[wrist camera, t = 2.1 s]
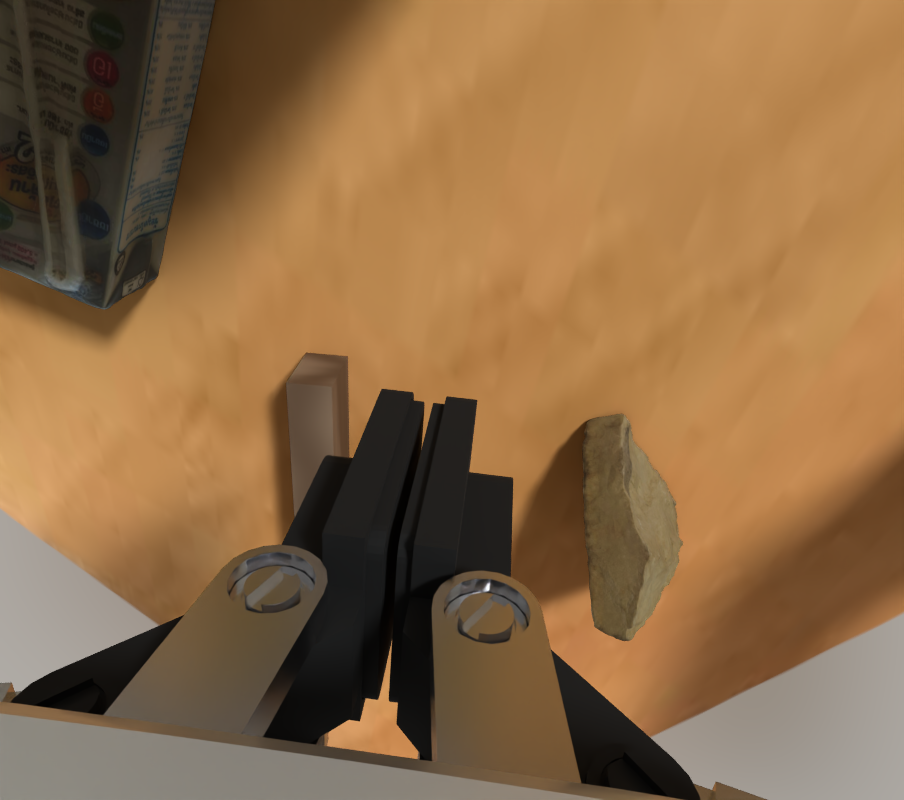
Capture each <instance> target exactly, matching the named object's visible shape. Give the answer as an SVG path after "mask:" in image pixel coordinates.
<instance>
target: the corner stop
mask: <svg viewBox="0 0 904 800" xmlns="http://www.w3.org/2000/svg"><path fill="white" fill-rule="evenodd" d="M286 389H287V405H288V421H289V437H290V453H291V469H292V486H293V502H294V518H295V516H296V514H297V512H298V510H299V508H300V506H301V504H302V502H303V500H304V498H305V496H306V493H307V491H308V489H309V487H310V485H311V483H312V481H313V479H314V477H315V475H316V473H317V471H318V469H319V467H320V464H321V462H322V460H323V459H324V457H325V456H327V455H332V456H340V457H348V458H349V408H348V356H337V355H325V354H314V353H306V354H305V355H304V357H303V358H302V360H301V361H300V363H299V364H298V366H297V367H296V369H295V370H294V372H293V373H292V375H291V376H290V378H289V379H288V381H287V382H286Z"/></svg>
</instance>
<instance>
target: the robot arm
mask: <svg viewBox="0 0 904 800" xmlns="http://www.w3.org/2000/svg"><path fill="white" fill-rule="evenodd" d="M476 407H477V400H473V399H465V398H456V397H448V396H447V397H446V401H445V404H438V403H433V407H432V411H431V414H430V418H429V422H428V426H427V430H426V434H425V438H424V442H423V446H422V433H423V419H424V402H421V401H414V394H413V392H405V391H397V390H388V389H382V390H381V392H380V394H379V396H378V399H377V401H376V404H375V406H374V409H373V411H372V413H371V416H370V418H369V421H368V423H367V426H366V428H365V430H364V433H363V435H362V438H361V440H360V443H359V445H358V447H357V450H356V452H355V455H354V457H353V458H348V457H340V456H332V455H327V456H325V457H324V459H323V460H322V462H321V464H320V467H319V469H318V471H317V473H316V475H315V477H314V479H313V481H312V483H311V485H310V487H309V489H308V491H307V493H306V496H305V498H304V500H303V502H302V504H301V506H300V508H299V510H298V512H297V514H296V516H295V518H294V520H293V522H292V524H291V527H290V529H289V531H288V533H287V535H286V537H285V539H284V541H283V543H282V545H271V546H262V547H259V548H255V549H252V550H248V551H246V552H244V553H242V554H241V555H239V556H237V557H235V558H233V559H232V560H231V561H230V562H229V563H228V564H227V565H226V566H224V567H223V568H222V569H221V571H220V572H219V573H218V574H217V576H216V577H215V578H214V579H213V581H212V582H211V583H210V584H209V585H208V587H207V588H206V589H205V590H204V592H203V593H202V594H201V595H200V597H199V598H198V599H197V600H196V601H195V603H194V604H193V605H192V606H191V608H190V609H189V610H188V611H187V613H186V614H185V615H183V616H181V617H179V618H176V619H174V620H172V621H169V622H167V623H165V624H162V625H160V626H158V627H155V628H153V629H151V630H149V631H147V632H144V633H142V634H139V635H137V636H135V637H132V638H130V639H128V640H126V641H124V642H121V643H118V644H116V645H114V646H111V647H109V648H107V649H105V650H102V651H100V652H98V653H95V654H93V655H91V656H89V657H86V658H84V659H81V660H79V661H77V662H75V663H72V664H70V665H68V666H65V667H63V668H61V669H58V670H56V671H54V672H51V673H49V674H48V675H46V676H44V677H43V678H40V679H39V680H37V681H35V682H33V683H31V684H30V685H29V686H28V687H26V688H25V689H24V690H23V691H19V692H15V691H14V688H13V685H12V683H0V800H767V799H764V798H761V797H758V796H755V795H752V794H750V793H747V792H744V791H741V790H738V789H735V788H733V787H730V786H727V785H724V784H721V783H719V782H716V783H715V785H714V787H713V790H710V789H707V788H704V787H702V786H698V785H696V784H693V782H692V780H691V779H690V777H689V775H688V774H687V773H686V772H685V771H684V770H683V769H682V768H681V766H680V765H679V764H678V763H677V762H676V761H675V760H674V759H673V758H672V757H671V756H670V755H669V754H668V753H667V752H665V751H664V750H663V749H662V748H661V747H660V746H659V745H658V744H656V743H655V742H654V741H653V740H652V739H651V738H650V737H649V736H647V735H646V734H645V733H644V732H643V731H642V730H641V729H640V728H638V727H637V726H636V725H635V724H634V723H633V722H632V721H631V720H629V719H628V718H627V717H626V716H625V715H624V714H623V713H622V712H621V711H619V710H618V709H617V708H616V707H615V706H614V705H613V704H612V703H610V702H609V701H608V700H607V699H606V698H605V697H604V696H603V695H601V694H600V693H599V692H598V691H597V690H596V689H595V688H594V687H592V686H591V685H590V684H589V683H588V682H587V681H586V680H585V679H583V678H582V677H581V676H580V675H579V674H578V673H577V672H576V671H574V670H573V669H572V668H571V667H570V666H569V665H568V664H567V663H566V662H564V661H563V660H562V659H561V658H560V657H559V656H558V655H557V654H555V653H554V652H553V651H552V650H551V648H550V644H549V639H548V635H547V631H546V626H545V622H544V617H543V613H542V609H541V607H540V605H539V603H538V600H537V598H536V597H535V596H534V595H533V593H532V592H531V591H530V590H529V589H528V588H527V587H526V586H524V585H523V584H521V583H520V582H518V581H517V580H515V579H514V578H511V543H512V505H513V478H511V477H503V476H495V475H487V474H479V473H471V472H469V469H470V460H471V451H472V442H473V434H474V425H475V416H476ZM421 447H422V450H421ZM391 641H392V653H391V670H390V688H389V701H390V702H398V710H397V725H398V726H399V728H400V729H401V730H402V731H403V733H404V734H405V735H406V736H407V738H408V739H409V740H410V741H411V743H412V744H413V745H414V746H415V748H416V749H417V750H418V759H412V758H405V757H398V756H391V755H384V754H377V753H370V752H363V751H356V750H349V749H342V748H335V747H328V746H327V743H328V732H329V731H331V730H333V729H334V728H336V727H337V726H339V725H341V724H342V723H344V722H346V721H347V720H355V721H360V719H361V715H362V711H363V706H364V702H365V698H369V699H376V700H378V698H379V695H380V691H381V686H382V682H383V677H384V673H385V668H386V664H387V659H388V655H389V650H390V646H391Z"/></svg>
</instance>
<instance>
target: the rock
mask: <svg viewBox="0 0 904 800" xmlns="http://www.w3.org/2000/svg"><path fill="white" fill-rule="evenodd" d="M584 434H585V439H584V441H583V449H582V451H583V472H584V477H583V498H584V522H585V540H586V549H587V553H588V557H589V558H588V568H589V588H590V597H591V611H592V616H593V620H594V626H595V628H597V629H599V630H600V631H602V632H603V633H605V634H607V635H609V636H613V637H615V638H616V639H619V640H622V641H630V640H632V638H633V637H634V635H635V633H636V632H637V631H638V630H639V629H640V628H641V627H643V625H644V624H645V621H646V620H647V619H648V618H649V617H650V616H651V615H652V613H653V611H654V609H655V607H656V604H657V603H658V601H659V600H660V597H661V592H662V591H663V589H664V587H665V586H667V585H669V583H670V580H671V578H672V577H673V576H674V573H675V570H676V567H677V565H678V563H679V556H678V552H679V551H680V547H681V546H682V545H683V542H682V541H681V539H680V538H679V533H678V525H677V513H676V509H675V505H676V502H675V500H674V499H673V497H672V496H671V494H670V492H669V489H668V487H667V484H666V482H665V481H664V480H662V478H661V477H660V474H659V473H658V472H657V470H655V469H653V467H652V465H651V464H650V463H649V461H648V457H647V456H646V454H645V453H644V452H643V451H642V450H641V449H640V448H639V447H638V446H637V445H636V444H635V443H634V441H633V438H632V431H631V425H630V422H629V420H628V419H627V418H626V416H625V415H624V414H616V415H611V416H606V417H598V418H595V419H591V420H589V421H588V422H587V423H586V428H585V432H584Z"/></svg>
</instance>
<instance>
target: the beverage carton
mask: <svg viewBox="0 0 904 800" xmlns="http://www.w3.org/2000/svg"><path fill="white" fill-rule="evenodd" d="M214 5H215V0H0V267H1V268H3V269H6V270H9V271H11V272H14V273H16V274H19V275H21V276H23V277H26V278H28V279H30V280H32V281H35V282H37V283H39V284H42V285H44V286H46V287H49V288H51V289H54V290H56V291H59V292H61V293H63V294H65V295H67V296H69V297H71V298H74V299H76V300H78V301H81V302H83V303H85V304H88V305H90V306H93V307H96V308H100V309H108V308H110V307H111V306H112V305H113V304H115V303H116V302H118V301H119V300H121V299H122V298H124V297H125V296H127V295H129V294H131V293H133V292H135V291H136V290H138V289H141V288H143V287H144V286H145V285H146V284H147V283H148V282H150V281H151V280H154V279H155V278H156V277H157V276H158V273H159V268H160V263H161V259H162V255H163V250H164V243H165V238H166V233H167V228H168V224H169V219H170V214H171V209H172V205H173V201H174V197H175V192H176V187H177V182H178V177H179V172H180V167H181V163H182V158H183V153H184V148H185V143H186V138H187V134H188V129H189V124H190V120H191V116H192V111H193V107H194V102H195V97H196V93H197V88H198V83H199V78H200V73H201V68H202V63H203V59H204V54H205V50H206V45H207V40H208V35H209V30H210V25H211V20H212V15H213V10H214Z"/></svg>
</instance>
